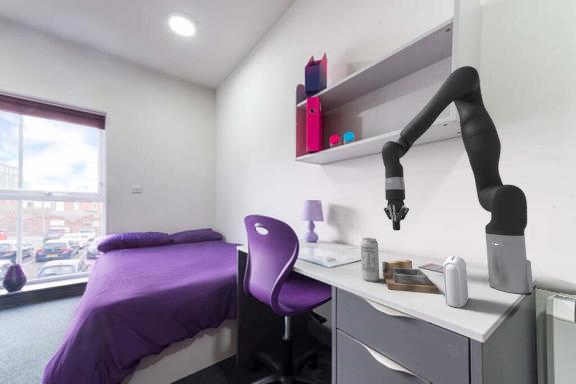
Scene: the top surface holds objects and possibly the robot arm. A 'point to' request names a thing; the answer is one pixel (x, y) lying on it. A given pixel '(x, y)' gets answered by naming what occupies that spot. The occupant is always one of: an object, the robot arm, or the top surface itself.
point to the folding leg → (396, 265)
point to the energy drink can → (369, 259)
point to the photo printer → (455, 281)
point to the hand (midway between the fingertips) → (396, 230)
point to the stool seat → (409, 280)
